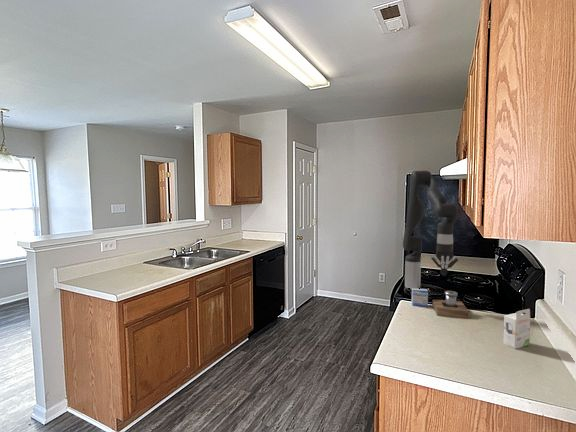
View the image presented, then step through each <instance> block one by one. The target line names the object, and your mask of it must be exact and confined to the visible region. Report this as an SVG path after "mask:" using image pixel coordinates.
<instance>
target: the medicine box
mask: <svg viewBox="0 0 576 432" xmlns="http://www.w3.org/2000/svg"><path fill="white" fill-rule="evenodd" d="M428 303H429V290H428V289H427V288H420V289H419V288H412V289H411V306H413V307H426V308H427V307H428V305H429V304H428Z"/></svg>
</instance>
